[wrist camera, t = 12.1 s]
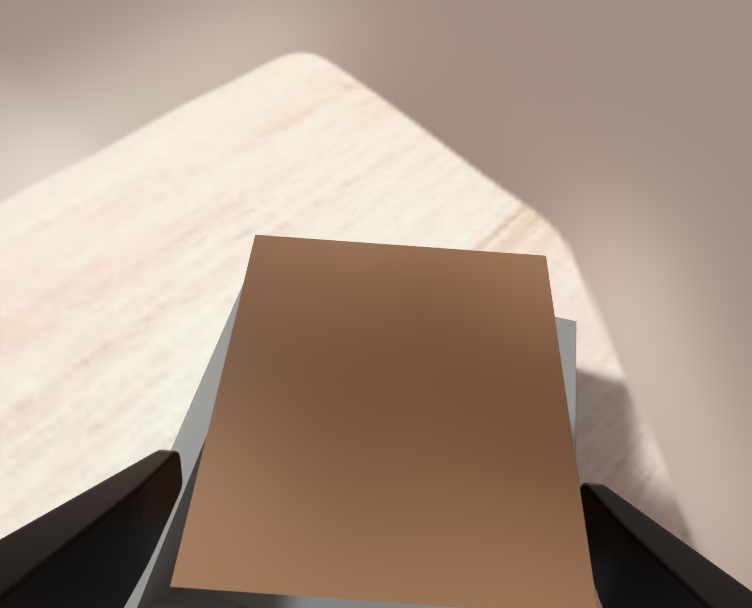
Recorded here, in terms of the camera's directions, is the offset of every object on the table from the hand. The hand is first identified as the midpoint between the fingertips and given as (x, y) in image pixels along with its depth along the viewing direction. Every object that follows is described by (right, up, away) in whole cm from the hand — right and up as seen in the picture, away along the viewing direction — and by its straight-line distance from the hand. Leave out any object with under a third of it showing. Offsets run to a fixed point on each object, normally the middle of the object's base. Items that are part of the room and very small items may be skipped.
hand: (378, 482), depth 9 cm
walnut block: (0, -3, +9) cm, 9 cm away
